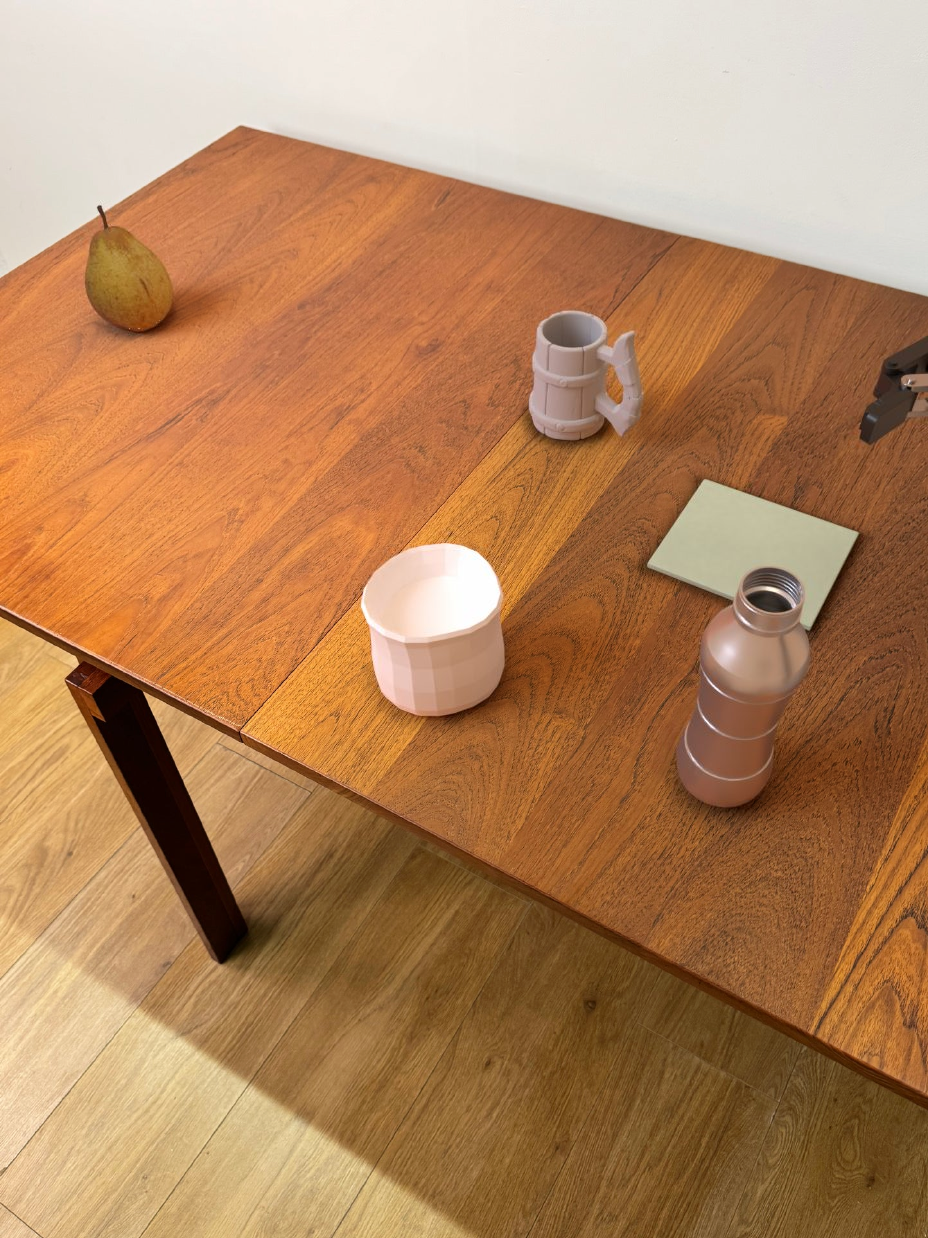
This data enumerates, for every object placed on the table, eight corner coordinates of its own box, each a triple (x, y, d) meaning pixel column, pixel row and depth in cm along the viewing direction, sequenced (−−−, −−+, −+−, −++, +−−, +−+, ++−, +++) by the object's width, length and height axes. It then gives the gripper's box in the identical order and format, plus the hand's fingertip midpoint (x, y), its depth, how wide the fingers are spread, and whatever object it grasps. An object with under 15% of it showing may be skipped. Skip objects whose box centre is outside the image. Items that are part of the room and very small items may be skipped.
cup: (529, 665, 78) (530, 581, 70) (442, 748, 73) (433, 667, 65) (439, 606, 82) (431, 520, 74) (352, 681, 77) (334, 598, 70)
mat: (857, 536, 85) (859, 532, 84) (809, 631, 78) (811, 627, 78) (703, 482, 90) (704, 478, 90) (646, 567, 84) (647, 563, 83)
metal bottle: (779, 760, 71) (849, 570, 56) (745, 835, 67) (810, 653, 52) (693, 724, 73) (738, 531, 58) (656, 795, 70) (694, 609, 54)
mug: (560, 383, 100) (564, 275, 91) (659, 430, 95) (674, 320, 86) (512, 421, 97) (511, 313, 87) (612, 472, 91) (622, 362, 82)
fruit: (165, 343, 108) (132, 239, 99) (86, 338, 109) (46, 235, 100) (191, 298, 113) (162, 196, 104) (116, 294, 115) (81, 193, 105)
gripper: (1164, 454, 63) (1014, 578, 57) (965, 353, 70) (814, 454, 64) (1228, 354, 57) (1069, 481, 51) (1004, 256, 65) (843, 357, 59)
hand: (927, 466), depth 58 cm, fingers open, 8 cm apart
